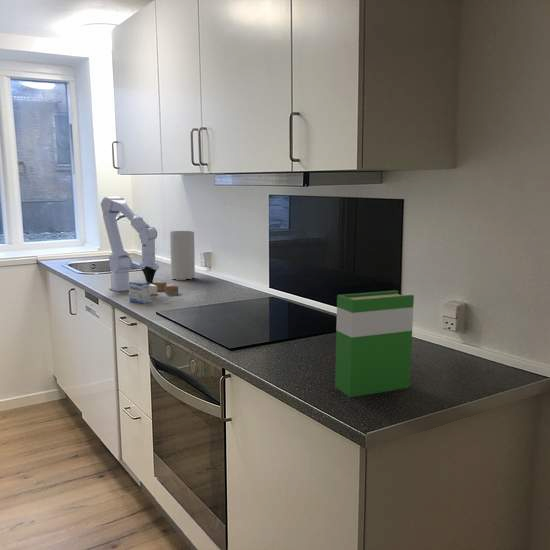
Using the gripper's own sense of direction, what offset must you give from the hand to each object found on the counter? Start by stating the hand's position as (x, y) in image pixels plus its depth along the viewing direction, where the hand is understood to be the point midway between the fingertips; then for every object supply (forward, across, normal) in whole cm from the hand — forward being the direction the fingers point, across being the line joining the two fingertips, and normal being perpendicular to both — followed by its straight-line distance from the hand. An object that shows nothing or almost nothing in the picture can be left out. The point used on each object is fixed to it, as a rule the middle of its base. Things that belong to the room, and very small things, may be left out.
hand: (149, 283), depth 272 cm
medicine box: (+5, -14, +12) cm, 19 cm away
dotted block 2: (+5, -6, -8) cm, 11 cm away
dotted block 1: (+5, +6, -8) cm, 11 cm away
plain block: (+5, 0, 0) cm, 5 cm away
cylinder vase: (+5, +28, -34) cm, 44 cm away
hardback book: (+6, -148, +14) cm, 149 cm away
